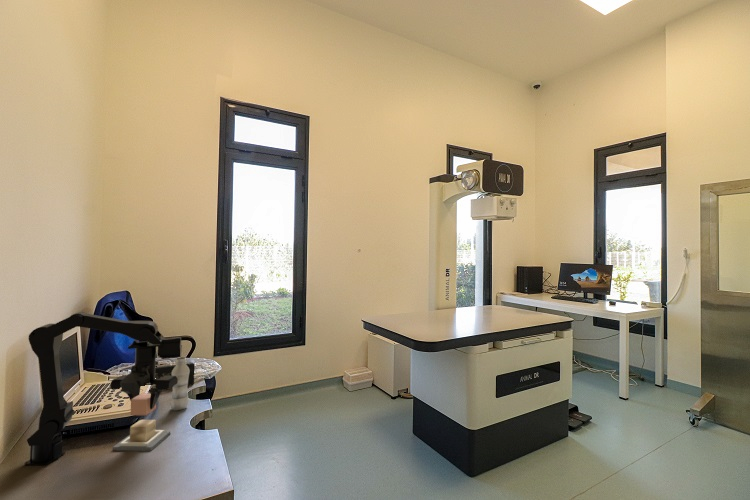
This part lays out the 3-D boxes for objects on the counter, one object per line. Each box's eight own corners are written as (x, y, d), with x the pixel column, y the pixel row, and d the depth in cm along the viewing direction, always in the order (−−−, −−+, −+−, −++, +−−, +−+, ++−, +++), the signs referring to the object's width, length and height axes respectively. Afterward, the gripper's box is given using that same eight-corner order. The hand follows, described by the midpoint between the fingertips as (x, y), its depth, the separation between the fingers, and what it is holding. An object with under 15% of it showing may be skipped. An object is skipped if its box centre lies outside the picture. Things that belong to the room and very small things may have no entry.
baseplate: (112, 450, 106) (112, 444, 106) (134, 434, 116) (134, 428, 116) (151, 450, 106) (151, 444, 107) (170, 434, 116) (170, 429, 117)
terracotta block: (130, 415, 109) (131, 399, 109) (141, 408, 114) (141, 393, 114) (146, 415, 109) (146, 399, 109) (156, 408, 114) (156, 393, 114)
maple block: (129, 442, 109) (130, 426, 109) (140, 434, 114) (140, 419, 114) (145, 442, 109) (146, 427, 109) (155, 435, 114) (155, 419, 114)
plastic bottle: (167, 413, 132) (169, 361, 133) (172, 406, 139) (174, 356, 139) (186, 411, 134) (187, 360, 135) (190, 404, 140) (192, 355, 141)
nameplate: (193, 383, 165) (194, 362, 165) (193, 384, 163) (194, 363, 164) (141, 391, 154) (142, 368, 154) (141, 392, 153) (142, 370, 153)
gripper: (97, 367, 104) (95, 419, 103) (158, 368, 104) (156, 420, 104) (123, 357, 115) (121, 404, 115) (179, 358, 115) (177, 404, 115)
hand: (143, 408), depth 112 cm, fingers closed on terracotta block, 5 cm apart
